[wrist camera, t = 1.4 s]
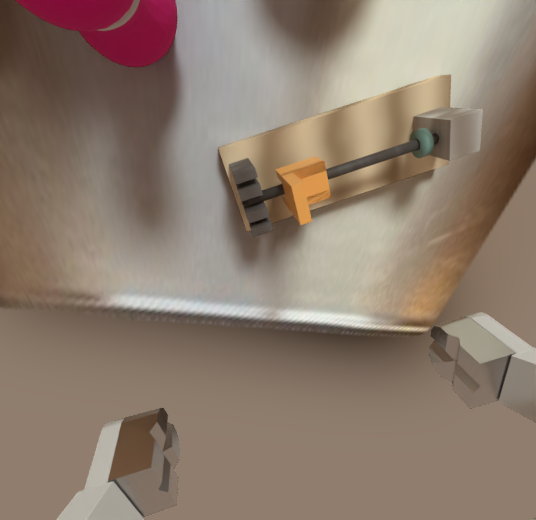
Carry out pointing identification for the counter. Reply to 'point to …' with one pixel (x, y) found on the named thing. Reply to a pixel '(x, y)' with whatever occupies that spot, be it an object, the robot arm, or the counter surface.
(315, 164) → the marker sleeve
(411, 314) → the counter surface
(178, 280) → the counter surface
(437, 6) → the counter surface
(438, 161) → the cord board
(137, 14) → the pepper mill
